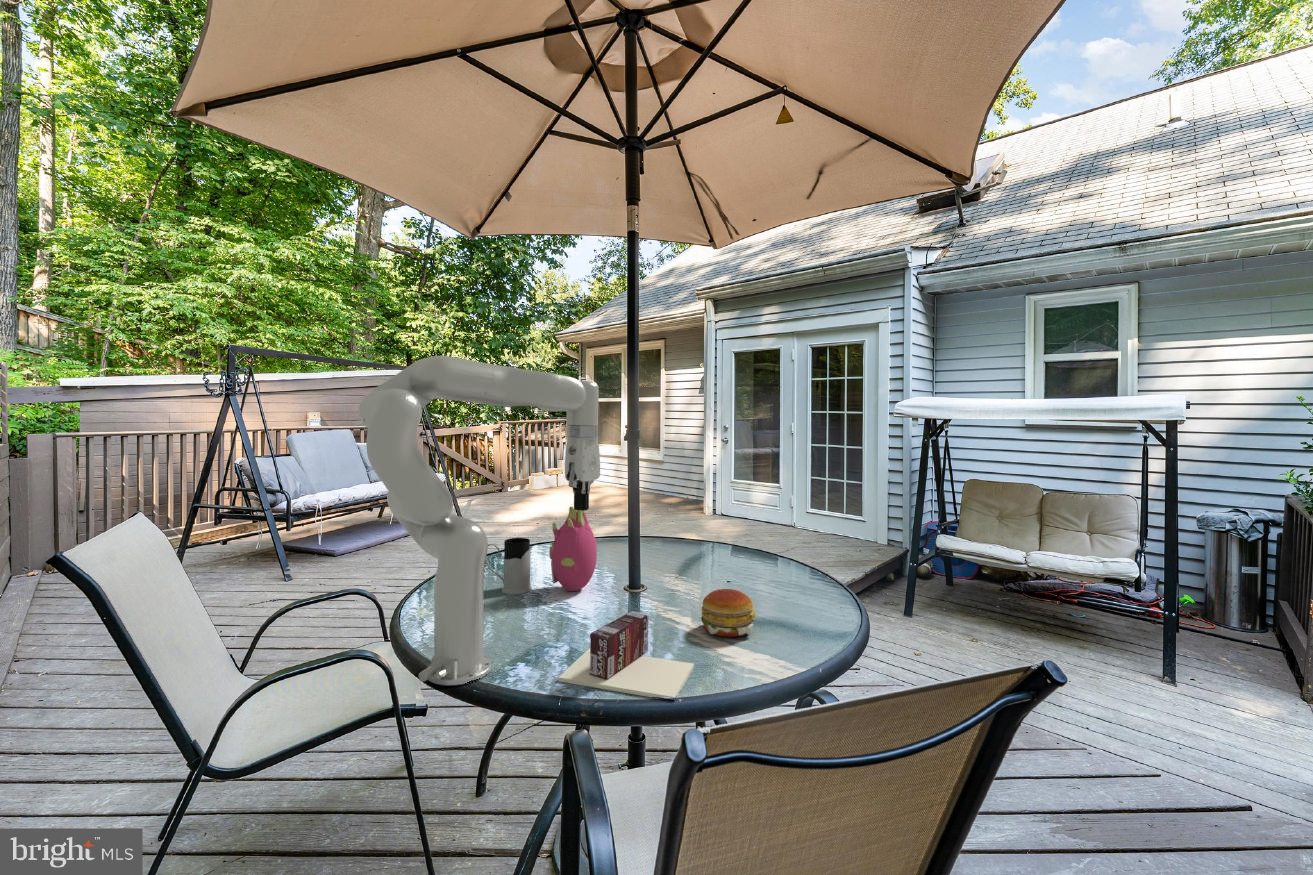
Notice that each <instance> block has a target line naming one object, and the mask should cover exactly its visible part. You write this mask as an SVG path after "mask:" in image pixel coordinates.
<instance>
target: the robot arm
mask: <svg viewBox="0 0 1313 875" xmlns="http://www.w3.org/2000/svg"><path fill="white" fill-rule="evenodd" d="M599 392H600V389H599V385H598V383H597V382H595V381H590V380H579V379H577V378H575V377H572V376H570V375H569V376H567V375H563V374H558V373H552V372H547V371H546V372H545V371H540V370H539V371H538V370H531V369H524V368H517V367H513V366H505V365H498V364H493V363H488V362H487V363H486V362H482V361H476V360H469V359H466V358H461V357H454V356H449V355H434V356H429V357H424V358H420V359H417V360H416V361H414V362H412V363H411V364H410V365H408V366H407V367H405V368H404V369H403V370H401V371H399V372H398V373H396V374H395V375H393V376H392V377H390V378H388V379H387V380H386V381H384V382H383V383H381V384H379V385H378V386H376V387H374V388H373V389H371V390H370V391H369V392H368V393H366V394H365V395H364V396H363V397H362V399H361V401H360V403H359V405H358V417H359V419H360V422H361V423H362V424H363V425H364V426H365V427H366V428H367V432H366V433H367V434H366V446H365V447H366V454H367V459H368V461H369V462H368V463H369V465H370V466H371V468H372V469H373V471H374V474H376V476H377V477H378V478H379V480H380V481H381V482H382V484H383V485H384V486H385V489H387V495H386V498H387V499H386V500H387V505H388V506H387V507H388V508H389V510H390V512H391V513H392V515H393V516H394V517H395V519H396V520H397V521H398V522H399V524H400V525H401V526H402V527H403V529H404V530H405V531H406V532H407V534H408V535H409V536H410V537H411V538H412V539H413V541H414V542H415V543H416V544H417V545H418V546H419V547H420V549H422V551H424V552H425V553H426V554H428V555H429V556H431V557H433V558H435V559H437V561H438V562H437V568H436V572H435V576H434V585H433V586H434V587H433V608H434V609H433V613H434V614H433V616H434V617H433V618H434V620H433V625H434V627H433V636H434V637H433V638H434V640H433V642H434V643H433V645H434V646H433V650H434V651H433V652H434V654H433V655H434V656H431V663H430V664H429V665H428V666H427V667H426V668H425V669H423V670H422V671H421V672H419V673H418V680H420V682H423V683H424V682H426V681H429V682H430V683H431V684H432V683H433V684H435V685H439V686H459V685H460V686H461V685H464V684H465V683H466V684H468V683H467V682H469V681H471V680H474V679H478V680H480V679H482V678H484V677H486V674H487V675H488V674H489V673H490V671H491V669H492V661H491V659H490V658H489V657H487V656H485V655H484V642H485V641H484V640H485V639H484V634H485V633H484V627H485V626H484V617H485V616H484V611H485V610H484V608H485V607H484V606H485V603H484V601H485V600H484V595H485V594H484V582H485V581H484V578H485V565H486V557H487V555H488V547H489V546H488V545H489V544H488V543H489V542H488V538H487V533H486V531H485V530H484V529H483V527H481V525H480V524H478V523H477V522H475V521H474V520H471V519H469V518H466V517H463V516H460V515H456V514H455V513H454V512H453V507H454V499H453V496H452V494H451V491H450V490H449V489H448V487H447V486H446V484H445V483H444V482H443V480H441V479H440V477H439V476H438V474H437V473H436V472H435V471H434V470H433V467H432V466H431V465H430V464H429V463H428V462H427V460H426V459H425V457H424V455H423V454H422V453H421V450H420V448H419V447H418V443H417V432H418V428H419V425H420V423H421V420H422V415H423V408H424V407H426V406H427V405H428V404H429V403H431V402H432V401H433V400H436V399H440V400H441V399H442V400H450V401H458V402H467V403H472V404H473V403H474V404H480V405H488V406H497V407H536V408H538V409H540V410H542V411H545V412H566V421H565V422H566V428H565V429H566V432H565V433H566V435H565V439H566V440H567V441H566V444H565V445H566V448H565V455H564V479H565V480H566V481H567V482H568V487H569V488H571V489H572V493H573V508H574V510H582V511H585V512H586V511H588V510H589V509H590V493H591V486H592V484H593V483H594V482H595V481H596V480H598V479H599V478H600V477H601V460H600V458H601V456H600V454H601V453H600V446H599V445H600V444H599V441H598V440H599V399H600V398H599V396H600V394H599ZM479 678H480V679H479ZM466 684H465V685H466Z"/></svg>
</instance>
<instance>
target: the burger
mask: <svg viewBox="0 0 1313 875" xmlns="http://www.w3.org/2000/svg"><path fill="white" fill-rule="evenodd" d="M753 603H754V602H753V601H752V600H751V598H750V596H748V595H747V594H746V593H744V592H741V591H740V590H738V589H737V590H736V589H733V588H720V589H716V590H713V591H711V592H709V593H707V595H706V596H705V597H704V598H703V600H702V606H701V617H700V619H701V622H702V624H703V627H704V629H705V630H706V631H707V632H709V633H710V635H716V636H721V637H731V638H734V637H740V636H744V635H748V636H751V635H752V631H753V629H754V628H753V627H754V622H755V621H754V620H755V617H756V612H755V609H754V604H753Z"/></svg>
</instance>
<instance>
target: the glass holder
mask: <svg viewBox="0 0 1313 875" xmlns="http://www.w3.org/2000/svg"><path fill="white" fill-rule="evenodd" d="M503 545H504V546H503V548H504V550H503V551H504V552H503V556H501V554H500V549H499V546H498V545H496V544H495V543H491V544H488V547H490V546H494V547H495V548H496V549H497V554H498V555H497V556H498V558H499V559H502V560H503V577H502V576H501V575H500V574H499V573H498V572H497V571H495V570H494V569H493V567H491V565H490V563H489V561H488V558H487V556H486V561H485V564H486V565H487V567H488V569H490V571H491V572H492V573H493V574H494V575H496V576H497V577H498V578H499V579H500V580H501V581H502V584H503V587H502V588H501V590H502V593H503V594H507V595H520V594H526V593H529V592H530V591H532V588H533V587H532V586H531V539H529V538H527V537H512V538H508V539H505V540H504V543H503Z"/></svg>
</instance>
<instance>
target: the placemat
mask: <svg viewBox="0 0 1313 875" xmlns="http://www.w3.org/2000/svg"><path fill="white" fill-rule="evenodd" d="M694 668H695V663H693V662H685V661H680V660H679V661H678V660H672V659H665V658H658V657H652V656H646V655H642V656H641V657H639V658H638V659H636V660H635V661H633V662H632V663H631V664H629V665H628V666H626V667H625V668H623V669H622V670H621V671H619V672H618V673H616V674H615V675H613V676H612V677H611V678H609V679H608V680H606V679H603V678H600V677H596V676H593V675H590V674H589V671H590V647H589V648H588V649H587V650H586V651H585V652H584V653H583V654H582V655H581V656H579V657H578V659H576V660H575V661H574V662H573V663H572V664H571V665H570V666H569V667H568V668H566V670H564V672H562V673H561V674H560V675H559V676H558V677H557V678H558V679H557V680H558V682H561V683H566V684H573V685H578V686H584V687H589V688H596V689H600V690H601V689H602V690H606V691H613V692H619V693H624V694H631V695H636V696H641V697H648V698H652V697H670V698H675V697H676V696H677V695H678V696H679V694H680V693H681V691H682V689H683V688H684V685H685V684H686V682H687V681H688V679H689V677H690V675H691V673H692V672H693V670H694ZM680 690H681V691H680ZM679 692H680V693H679ZM678 696H677V697H678Z"/></svg>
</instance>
